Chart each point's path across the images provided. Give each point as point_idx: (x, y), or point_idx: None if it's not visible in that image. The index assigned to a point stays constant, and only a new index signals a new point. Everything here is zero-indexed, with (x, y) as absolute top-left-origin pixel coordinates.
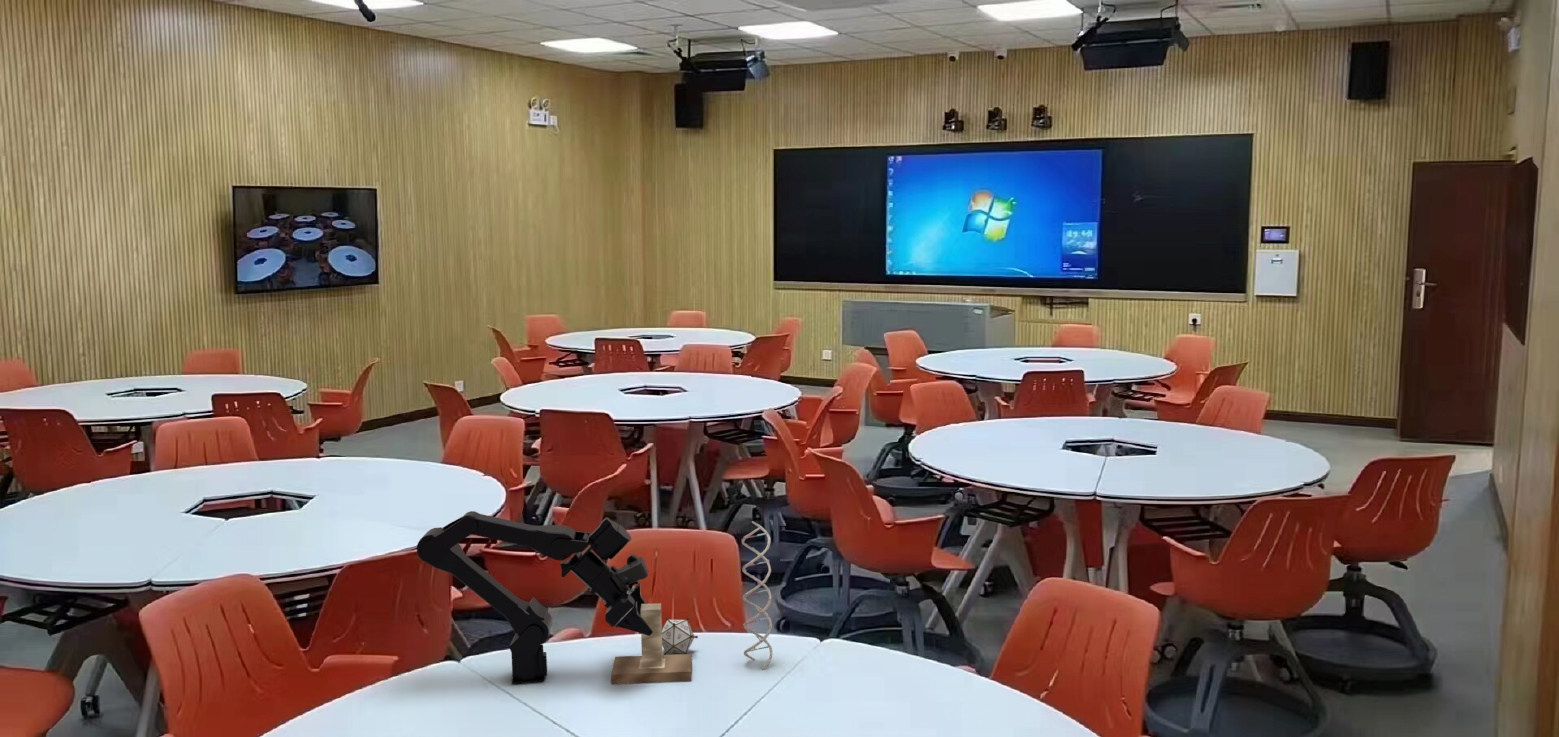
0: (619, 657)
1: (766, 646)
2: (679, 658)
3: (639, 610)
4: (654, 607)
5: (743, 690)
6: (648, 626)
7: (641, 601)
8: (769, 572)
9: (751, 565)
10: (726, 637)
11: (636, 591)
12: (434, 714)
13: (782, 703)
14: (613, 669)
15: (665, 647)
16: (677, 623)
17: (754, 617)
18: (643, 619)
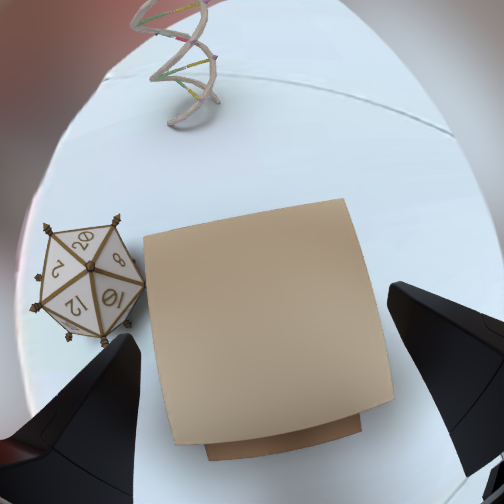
0: (215, 448)
1: (178, 80)
2: None
3: (119, 435)
4: (289, 273)
5: (332, 117)
6: (428, 295)
7: (73, 436)
8: None
9: None
10: (47, 205)
11: (24, 494)
12: None
13: (362, 79)
14: (322, 439)
15: (123, 318)
16: (76, 258)
17: (207, 16)
18: (458, 323)
